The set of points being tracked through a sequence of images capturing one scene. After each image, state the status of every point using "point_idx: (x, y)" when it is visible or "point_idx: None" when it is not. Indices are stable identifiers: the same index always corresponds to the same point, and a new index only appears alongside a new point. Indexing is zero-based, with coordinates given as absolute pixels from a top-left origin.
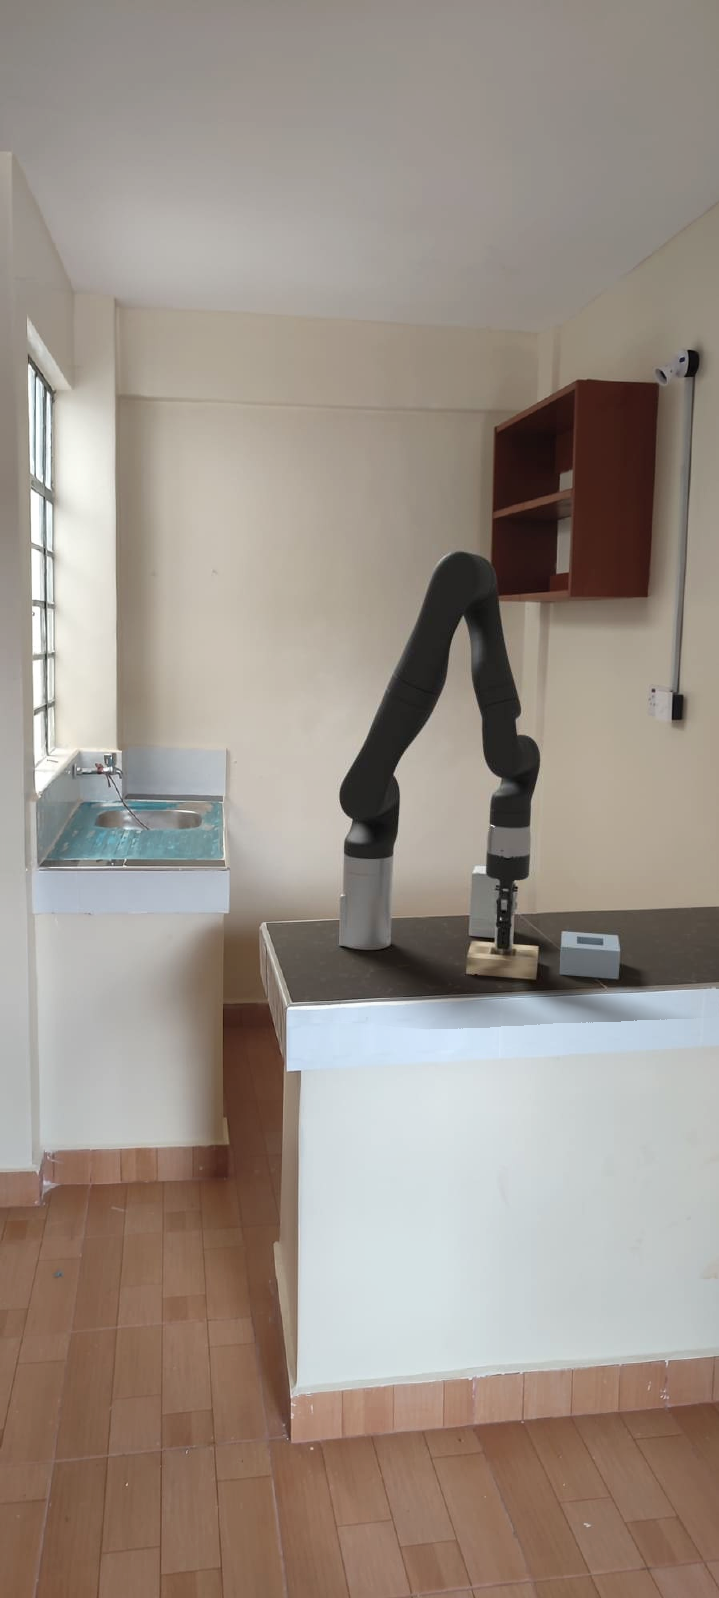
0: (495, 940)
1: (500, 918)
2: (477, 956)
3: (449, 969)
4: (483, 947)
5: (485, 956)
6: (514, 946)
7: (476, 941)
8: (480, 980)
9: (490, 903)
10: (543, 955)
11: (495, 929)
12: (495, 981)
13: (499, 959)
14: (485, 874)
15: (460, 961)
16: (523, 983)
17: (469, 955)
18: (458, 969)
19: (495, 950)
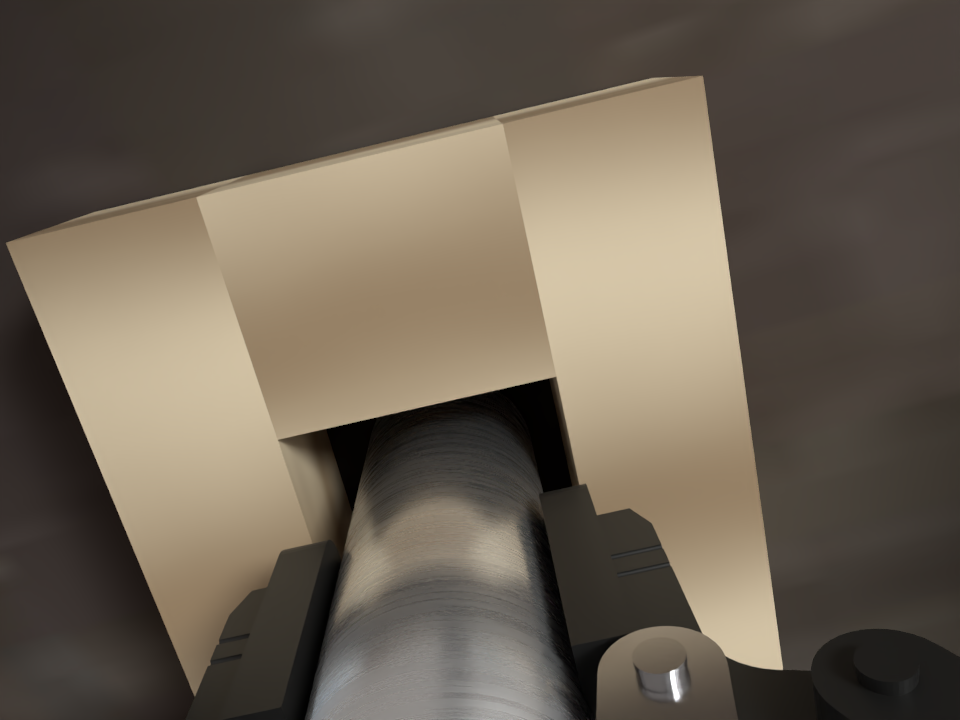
0: (373, 531)
1: None
2: (110, 345)
3: (128, 2)
4: (494, 298)
5: (164, 423)
6: (688, 576)
7: (710, 139)
8: (2, 388)
9: None
10: (956, 638)
11: (381, 605)
12: (61, 504)
13: (152, 575)
14: None
15: (455, 20)
16: (153, 692)
17: (85, 251)
18: (185, 93)
19: (373, 480)
